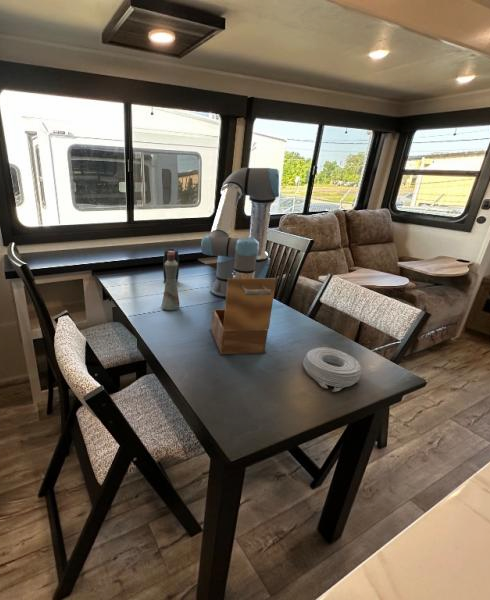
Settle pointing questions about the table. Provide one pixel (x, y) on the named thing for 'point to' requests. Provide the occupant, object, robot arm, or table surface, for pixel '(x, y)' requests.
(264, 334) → the chest
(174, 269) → the bottle
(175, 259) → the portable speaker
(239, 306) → the lid
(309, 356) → the cable
